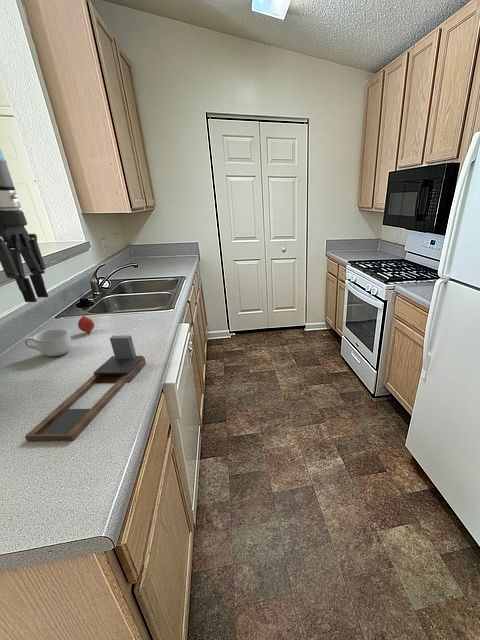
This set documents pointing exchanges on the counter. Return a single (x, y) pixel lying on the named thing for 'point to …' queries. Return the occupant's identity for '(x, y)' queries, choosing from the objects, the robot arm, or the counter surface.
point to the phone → (66, 421)
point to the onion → (86, 324)
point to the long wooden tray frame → (91, 414)
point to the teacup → (51, 342)
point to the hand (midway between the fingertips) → (37, 299)
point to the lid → (120, 356)
